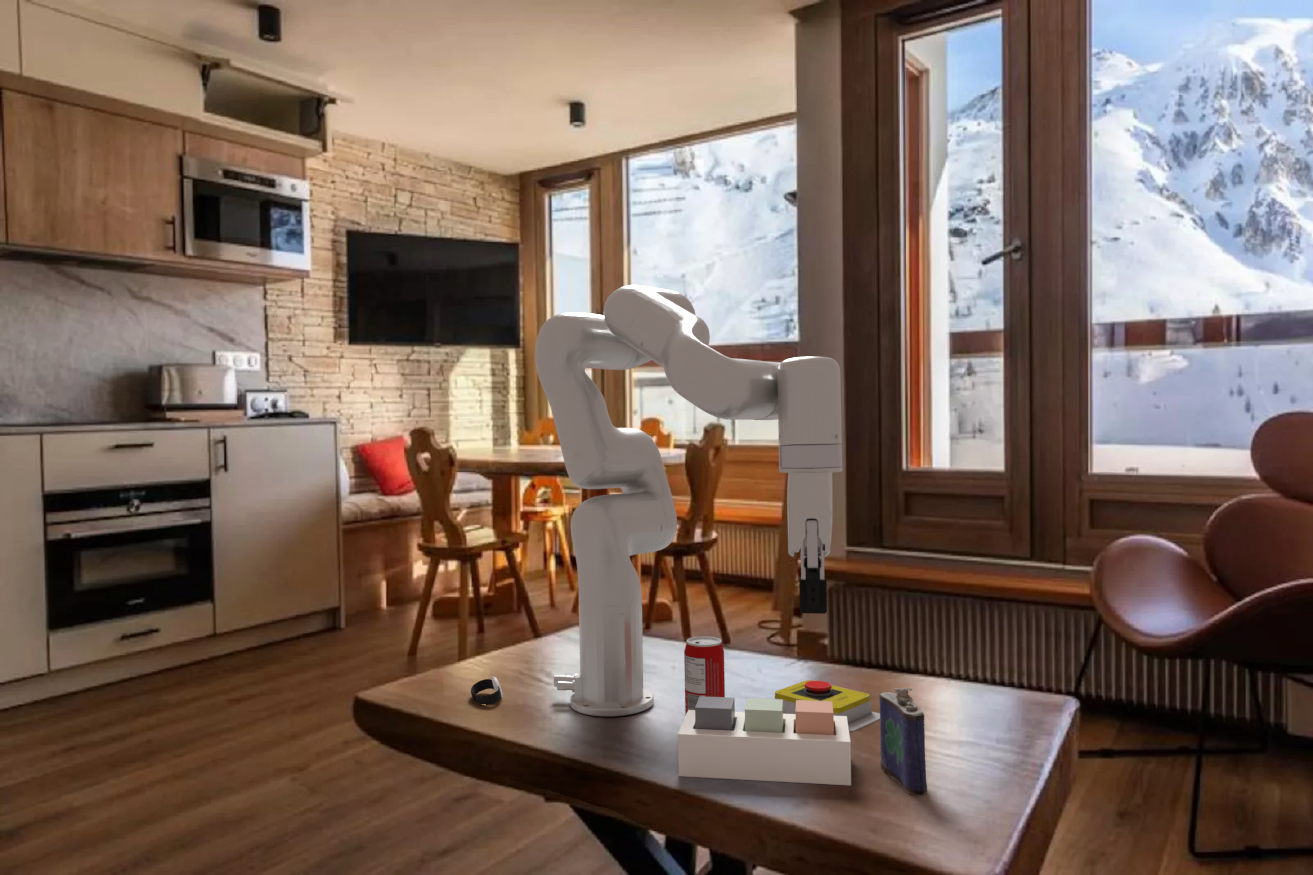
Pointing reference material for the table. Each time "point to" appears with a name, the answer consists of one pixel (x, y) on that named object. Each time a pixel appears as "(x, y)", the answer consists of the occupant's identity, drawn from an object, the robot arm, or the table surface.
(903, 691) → the flask
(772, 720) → the sage key
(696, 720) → the charcoal key
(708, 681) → the soda can
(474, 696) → the watch
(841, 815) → the table surface
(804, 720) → the terracotta key
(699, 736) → the key block
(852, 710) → the emergency button
